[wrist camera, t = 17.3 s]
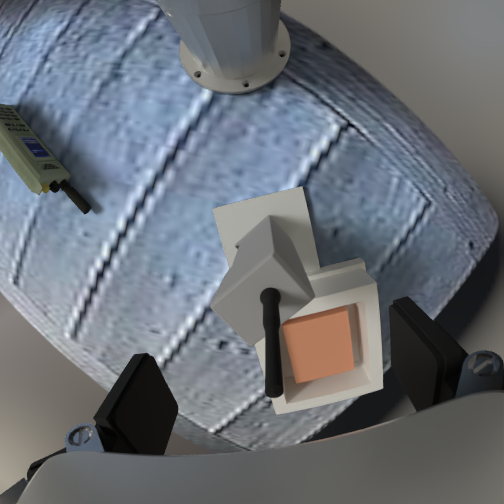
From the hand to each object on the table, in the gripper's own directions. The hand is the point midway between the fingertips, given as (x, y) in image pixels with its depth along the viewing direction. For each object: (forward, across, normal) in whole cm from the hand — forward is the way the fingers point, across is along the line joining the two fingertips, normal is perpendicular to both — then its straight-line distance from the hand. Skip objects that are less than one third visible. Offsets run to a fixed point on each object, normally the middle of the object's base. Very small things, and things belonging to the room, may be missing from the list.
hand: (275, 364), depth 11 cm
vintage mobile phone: (+23, +1, 0) cm, 23 cm away
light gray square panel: (+24, 0, +1) cm, 24 cm away
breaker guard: (+24, -3, +13) cm, 27 cm away
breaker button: (+21, -3, +13) cm, 25 cm away
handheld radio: (+24, +27, -19) cm, 41 cm away
